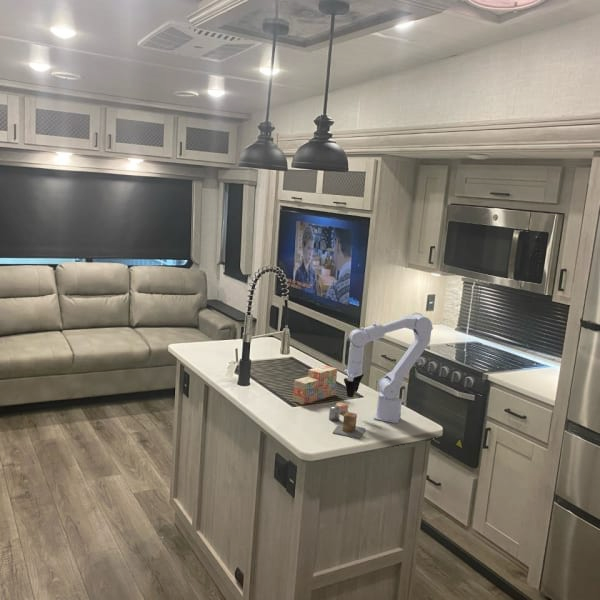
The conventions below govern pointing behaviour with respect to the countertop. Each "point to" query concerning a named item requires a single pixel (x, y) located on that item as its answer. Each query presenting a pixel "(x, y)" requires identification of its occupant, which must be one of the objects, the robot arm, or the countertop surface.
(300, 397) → the stack of blocks
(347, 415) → the walnut block
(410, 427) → the countertop surface
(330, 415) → the shiny grey rounded piece
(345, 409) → the peach dome knob
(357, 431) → the slate mat
